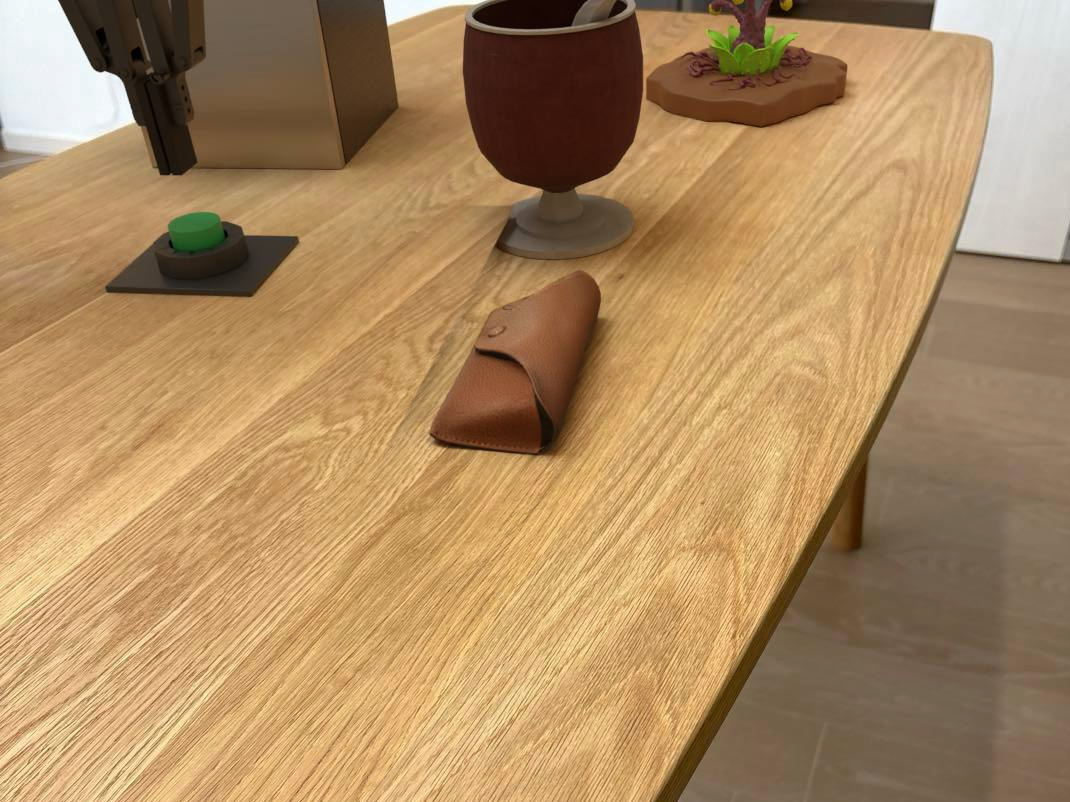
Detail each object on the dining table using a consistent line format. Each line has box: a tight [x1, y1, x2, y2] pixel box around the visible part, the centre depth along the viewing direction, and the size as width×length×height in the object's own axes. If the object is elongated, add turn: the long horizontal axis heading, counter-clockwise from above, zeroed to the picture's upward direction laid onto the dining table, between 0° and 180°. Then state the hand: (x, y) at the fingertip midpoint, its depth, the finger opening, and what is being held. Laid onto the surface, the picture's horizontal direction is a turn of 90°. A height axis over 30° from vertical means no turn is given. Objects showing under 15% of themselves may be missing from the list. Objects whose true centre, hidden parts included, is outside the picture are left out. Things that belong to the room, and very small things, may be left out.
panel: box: [105, 220, 300, 298], centre depth 85 cm, size 12×10×4 cm
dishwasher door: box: [131, 0, 346, 170], centre depth 97 cm, size 7×20×24 cm, turn 79°
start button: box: [167, 211, 225, 251], centre depth 83 cm, size 4×4×2 cm
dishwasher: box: [316, 0, 400, 166], centre depth 107 cm, size 18×20×24 cm
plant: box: [645, 0, 849, 128], centre depth 112 cm, size 20×20×11 cm
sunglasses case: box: [428, 269, 602, 455], centre depth 70 cm, size 18×7×7 cm, turn 169°
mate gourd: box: [462, 0, 644, 260], centre depth 84 cm, size 16×14×20 cm
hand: (178, 168), depth 80 cm, fingers closed
